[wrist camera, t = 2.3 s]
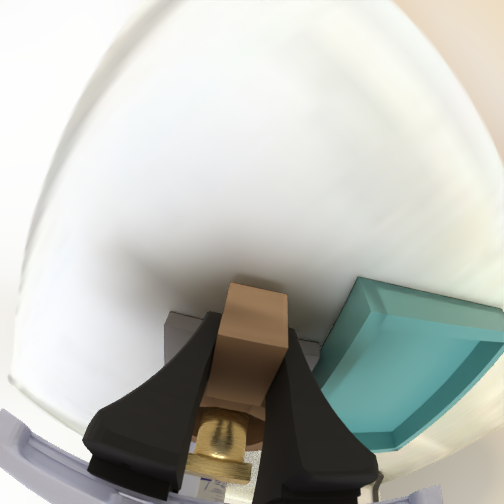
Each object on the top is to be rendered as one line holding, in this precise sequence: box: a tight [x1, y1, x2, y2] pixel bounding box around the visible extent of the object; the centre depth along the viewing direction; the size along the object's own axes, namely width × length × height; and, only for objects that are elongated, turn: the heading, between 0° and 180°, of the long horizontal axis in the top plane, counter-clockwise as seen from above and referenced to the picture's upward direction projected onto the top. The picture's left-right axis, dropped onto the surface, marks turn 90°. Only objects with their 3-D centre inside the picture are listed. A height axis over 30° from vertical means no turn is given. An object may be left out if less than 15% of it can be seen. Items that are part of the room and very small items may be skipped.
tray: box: [312, 277, 504, 453], centre depth 15 cm, size 15×12×2 cm
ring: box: [191, 282, 288, 451], centre depth 13 cm, size 11×7×3 cm, turn 168°
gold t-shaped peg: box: [184, 406, 252, 485], centre depth 13 cm, size 2×3×6 cm
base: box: [164, 312, 320, 372], centre depth 16 cm, size 8×8×1 cm
